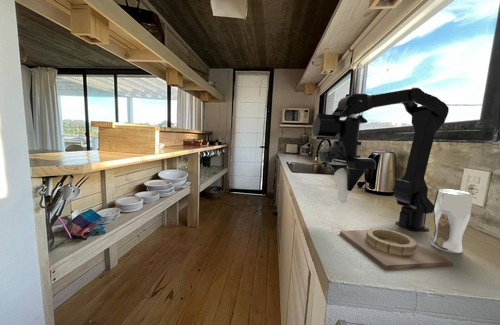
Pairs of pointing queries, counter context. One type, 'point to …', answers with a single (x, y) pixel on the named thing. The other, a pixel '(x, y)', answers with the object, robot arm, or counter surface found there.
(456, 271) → the counter surface
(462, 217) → the beer glass
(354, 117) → the robot arm
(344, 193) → the lightbulb
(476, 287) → the counter surface
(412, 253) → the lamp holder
